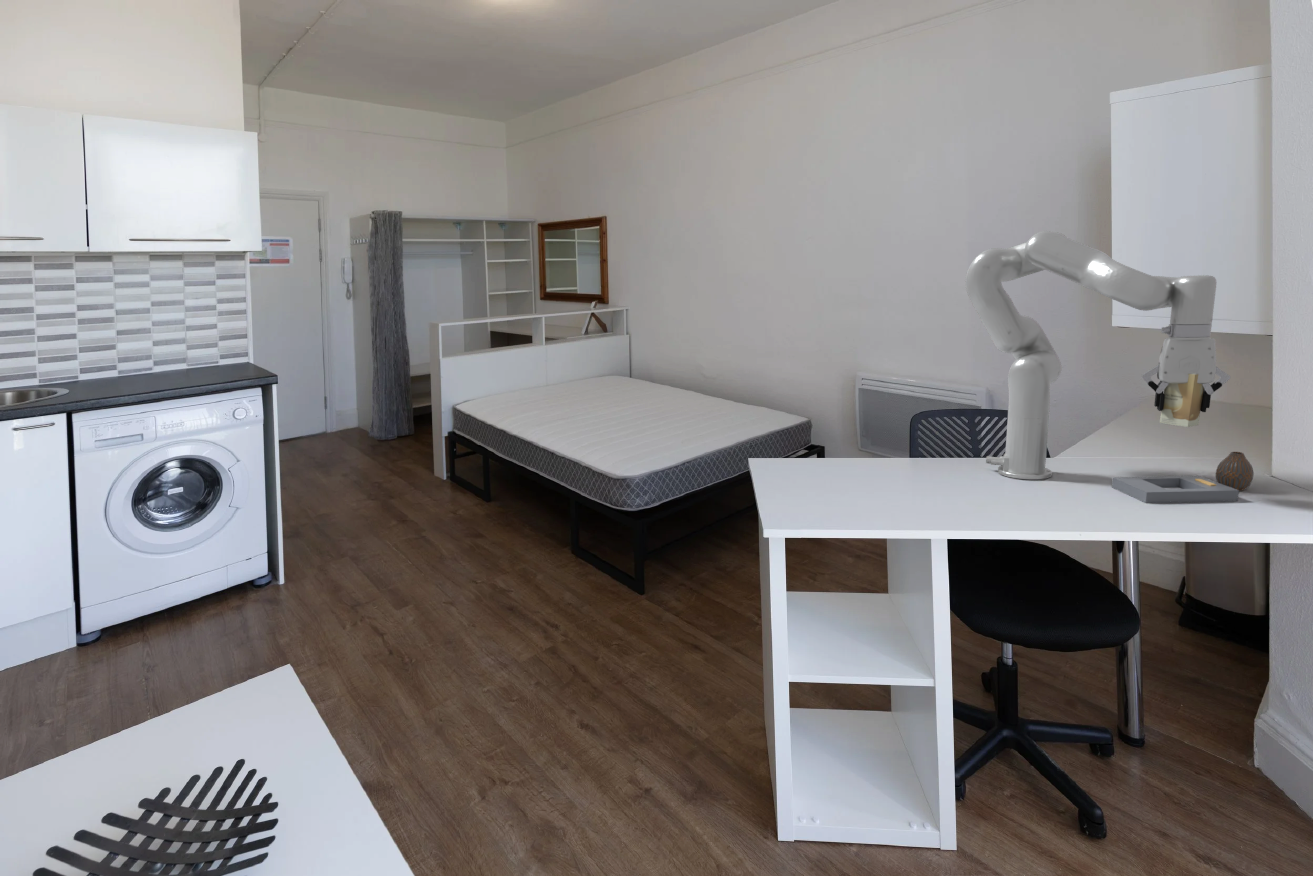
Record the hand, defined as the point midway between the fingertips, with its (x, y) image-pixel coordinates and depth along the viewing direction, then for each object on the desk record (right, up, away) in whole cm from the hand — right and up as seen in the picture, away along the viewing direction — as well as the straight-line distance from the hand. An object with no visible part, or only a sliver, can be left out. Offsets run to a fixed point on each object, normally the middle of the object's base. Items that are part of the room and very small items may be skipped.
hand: (1180, 410), depth 162 cm
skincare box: (0, -4, +1) cm, 4 cm away
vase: (+17, -19, +7) cm, 26 cm away
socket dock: (+1, -19, +4) cm, 20 cm away
